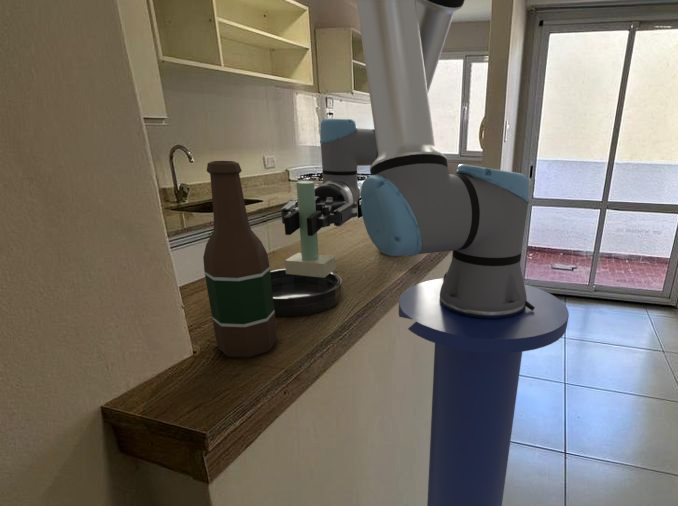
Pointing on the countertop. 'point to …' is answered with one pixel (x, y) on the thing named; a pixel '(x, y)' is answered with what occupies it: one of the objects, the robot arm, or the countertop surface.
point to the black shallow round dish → (304, 293)
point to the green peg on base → (308, 239)
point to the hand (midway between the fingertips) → (298, 226)
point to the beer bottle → (237, 271)
